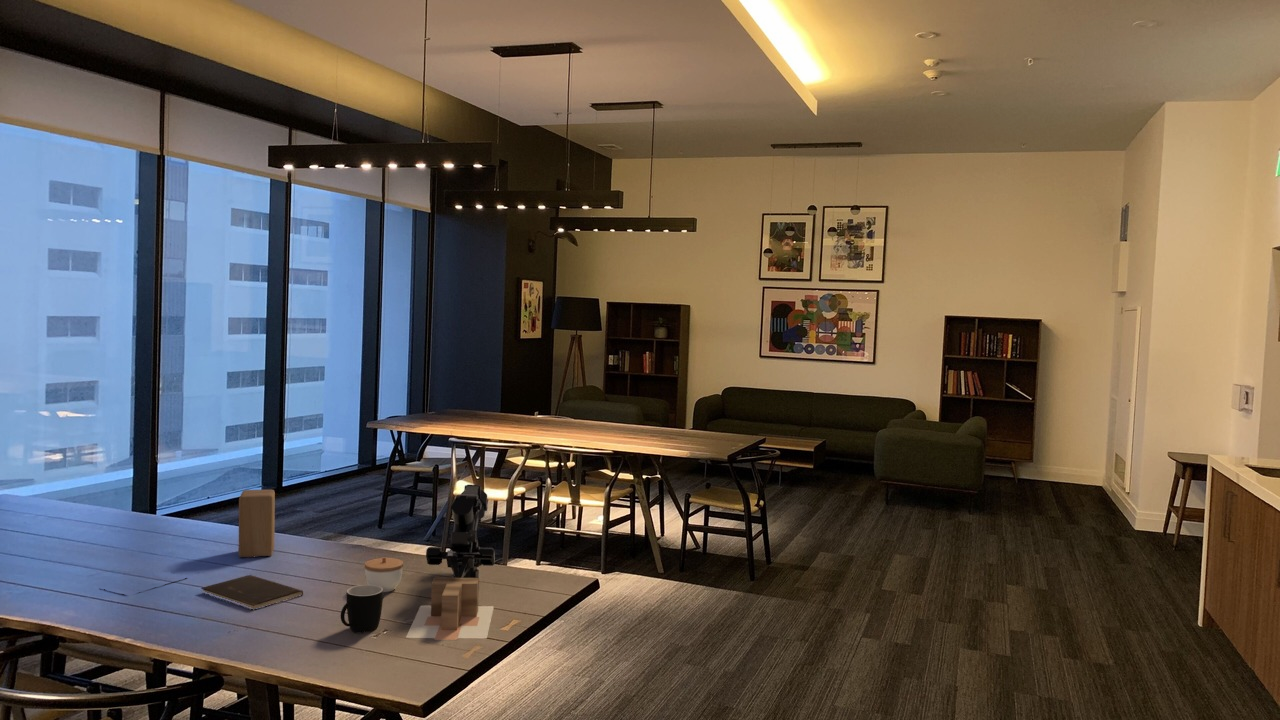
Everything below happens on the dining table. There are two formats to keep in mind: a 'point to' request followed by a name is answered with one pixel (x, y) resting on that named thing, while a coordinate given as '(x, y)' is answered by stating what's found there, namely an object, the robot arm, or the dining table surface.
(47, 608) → the dining table surface
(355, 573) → the dining table surface
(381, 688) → the dining table surface
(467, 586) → the t block
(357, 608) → the mug
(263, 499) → the block
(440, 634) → the mat
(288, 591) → the hardcover book
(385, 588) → the lidded jar
